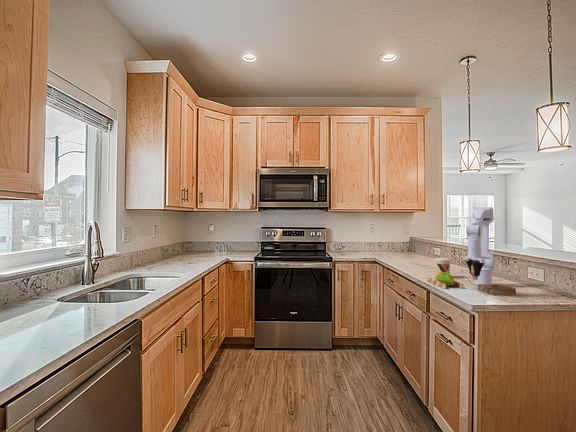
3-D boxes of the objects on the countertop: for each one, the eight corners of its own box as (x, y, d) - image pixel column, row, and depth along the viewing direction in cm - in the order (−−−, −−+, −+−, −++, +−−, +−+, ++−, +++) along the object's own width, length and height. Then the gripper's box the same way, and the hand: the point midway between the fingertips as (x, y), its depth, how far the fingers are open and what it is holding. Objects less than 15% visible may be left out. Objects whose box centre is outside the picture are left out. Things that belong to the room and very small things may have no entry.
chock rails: (426, 281, 207) (426, 276, 207) (443, 280, 207) (443, 276, 207) (444, 288, 184) (444, 284, 184) (463, 288, 184) (463, 284, 184)
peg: (470, 278, 175) (469, 265, 175) (476, 278, 175) (476, 265, 175) (473, 279, 171) (473, 265, 171) (480, 279, 171) (479, 265, 171)
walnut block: (478, 289, 181) (477, 284, 181) (500, 289, 181) (500, 283, 181) (491, 294, 169) (491, 288, 169) (515, 294, 169) (515, 288, 169)
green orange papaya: (444, 274, 186) (429, 268, 206) (443, 288, 186) (428, 281, 206) (458, 275, 186) (441, 269, 206) (457, 289, 186) (441, 282, 206)
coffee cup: (436, 278, 215) (436, 259, 215) (433, 276, 224) (432, 257, 224) (452, 278, 214) (452, 259, 214) (448, 276, 223) (447, 257, 223)
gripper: (459, 247, 180) (459, 273, 180) (474, 250, 166) (475, 278, 166) (472, 247, 180) (473, 272, 180) (489, 249, 166) (489, 277, 166)
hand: (474, 275), depth 173 cm, fingers closed on peg, 3 cm apart
